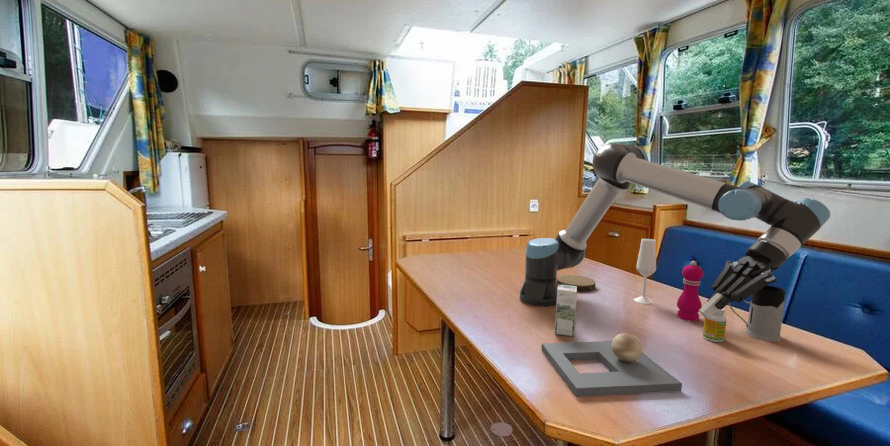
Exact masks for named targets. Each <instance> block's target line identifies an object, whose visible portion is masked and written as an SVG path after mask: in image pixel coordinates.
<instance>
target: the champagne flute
mask: <svg viewBox="0 0 890 446" xmlns="http://www.w3.org/2000/svg"><path fill="white" fill-rule="evenodd" d="M656 245H657V242H656V239H652V238H641V241H640V247H639V251H638V255H637V263H636V267H635V268H636V270H637V272H638V273H639V274H640V275H641V276H642V277H643V279H642V290H641V291H642V292H641V296H638V297H635V298H634V299H633V301H634V302H636V303H638V302H639V304H643V305H644V304H645V305H650V304H651V303H652V304H654V302H653V300H651V299H650V298H649V297H647V296H646V293H647V285H648V284H647V283H648V277H650V276H651V275H653V274H654V273H655V272H656V271H657V246H656ZM652 304H651V305H652Z"/></svg>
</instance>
